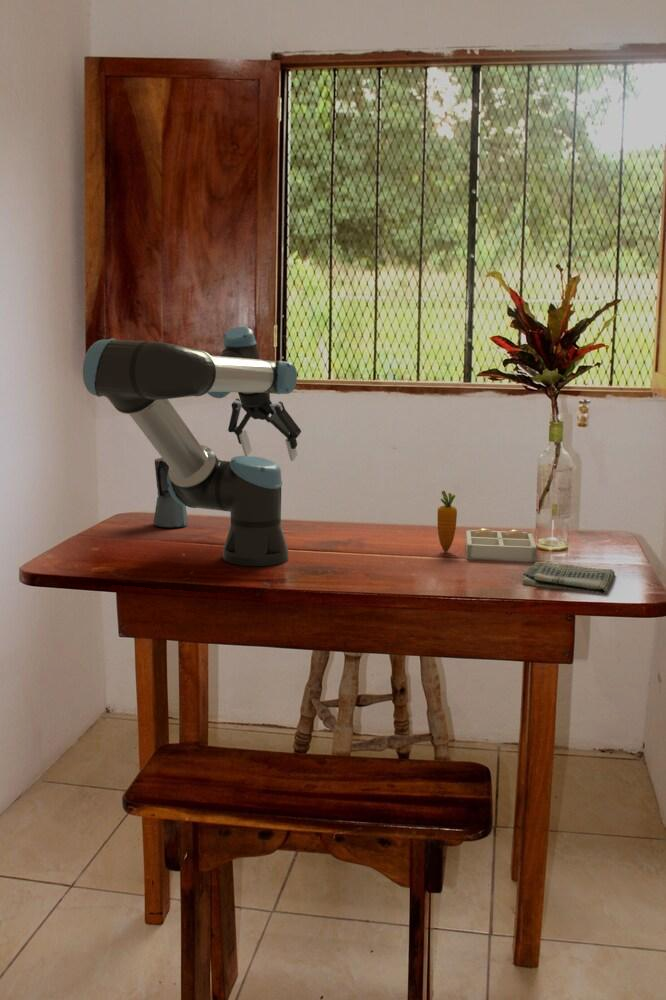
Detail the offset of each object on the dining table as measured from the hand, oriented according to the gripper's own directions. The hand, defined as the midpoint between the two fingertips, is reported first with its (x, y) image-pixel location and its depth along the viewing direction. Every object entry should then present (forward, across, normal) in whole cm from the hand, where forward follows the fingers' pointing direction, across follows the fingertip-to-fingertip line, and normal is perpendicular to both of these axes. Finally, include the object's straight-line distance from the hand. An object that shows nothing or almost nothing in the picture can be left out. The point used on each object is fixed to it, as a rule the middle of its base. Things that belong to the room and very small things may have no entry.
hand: (271, 455), depth 275 cm
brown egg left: (+19, -57, +4) cm, 60 cm away
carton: (+18, -62, +6) cm, 65 cm away
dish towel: (+11, -82, +20) cm, 86 cm away
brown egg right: (+20, -64, +2) cm, 67 cm away
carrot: (+15, -50, +12) cm, 54 cm away
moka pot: (+11, +23, +20) cm, 32 cm away
